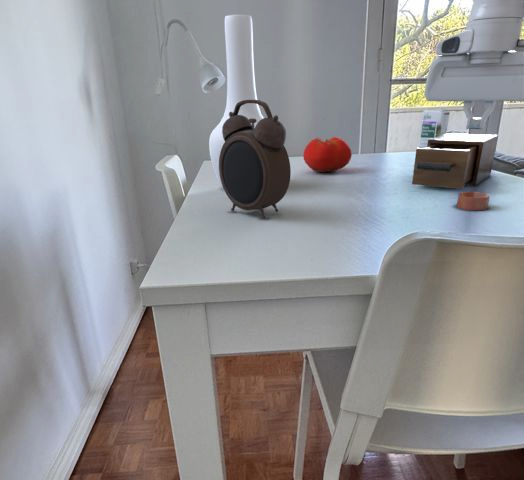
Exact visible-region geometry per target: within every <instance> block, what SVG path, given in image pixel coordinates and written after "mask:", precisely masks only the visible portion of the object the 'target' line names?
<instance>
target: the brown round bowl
mask: <svg viewBox="0 0 524 480" xmlns="http://www.w3.org/2000/svg"><path fill="white" fill-rule="evenodd" d="M490 196H491V195H490V194H488V193H486V192H480V191H463V192H460V193H458V197H457V202H456V203H457V204H456V208H458V209H459V210H465V211H474V212H475V211H478V212H479V211H485V210H487V209H488V206H489V201H490Z"/></svg>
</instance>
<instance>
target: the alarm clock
mask: <svg viewBox="0 0 524 480" xmlns="http://www.w3.org/2000/svg"><path fill="white" fill-rule="evenodd" d="M246 103H255V104H258V106H261V107H262V108H263V110H264V112H265V115H266V117H263V118H264V119H261V120H260V121H259V122H258V123H257V125H256V126H255V128H254V123H256V119H251V118H250V119H249V120H248V118H247V117H245V116H243V115H238V112H239V110H240V107H241V106H242V105H244V104H246ZM229 116H230V118H229V119H227V120H226V121H225V123H224V124H223V127H222V134H223V138H224V141H225V142H224V144H223V146H222V149H221V152H220V157H219V174H220V179H221V183H222V186H223V187H222V186H221V187H222V188H223V191H224V192H225V194H226V196H227V198H228V199H229V201H230V202H231V203H232V207H231V209H230V210H231V211H232V212H235V210H236V207H237V208H239V209H241V210H244V211H259V213H260V214H261V216H262V219H264V220H265V219H266V218H267V215H265V211H264V209H266V208H269V207H271V206H272V208H273V209H274V211H275V213H278V212H279V209H278V207H277V205H276V204H278V203H279V202H281V201H282V200H283V198H284V197H285V196H286V193H287V192H288V189H289V187H290V183H291V176H292V175H291V172H292V171H291V161H290V157H289V154H288V151H287V149H286V147H285V143H286V138H287V130H286V127H285V126H284V124H283V123H282V122H281V121H279V116H278V115H276V114H275V115H273V114H272V110H271V109H270V107H269V105H268V104H267V103H266V102H265V101H263V100H260V99H257V100H243V101H241V102H238V103H237V104H236V106H235V109H234V112H233V113H232V112H229ZM251 123H252V124H251Z"/></svg>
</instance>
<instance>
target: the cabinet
mask: <svg viewBox="0 0 524 480" xmlns="http://www.w3.org/2000/svg"><path fill="white" fill-rule="evenodd" d="M498 140H499V134H477V133H476V134H473V133H472V134H471V133H470V134H469V133H446V134H444V135H441V136H438V137H435V138H432V139H428V144H427V147H428V146H431V145H434V144H462V145H479V150H478V156H477V161H476V166H475V172H474V177H473V179H472V180H470V181H468V182H467V183H465V184H464V186H471V187H472V186H474V187H476V186H477V185H479V184H480V183H482V182H483V181H485V180H486V179H488V178H489V177H491V173H492V169H493V164H494V159H495V154H496V150H497V145H498Z"/></svg>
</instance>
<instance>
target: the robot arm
mask: <svg viewBox="0 0 524 480" xmlns="http://www.w3.org/2000/svg"><path fill="white" fill-rule="evenodd" d="M523 24H524V0H472V5H471V10H470V13H469V15H468V17H467V22H466V27H465V28H466V29H464V30H463V31H461V32H458V33H456V34H454V35H451V36H449V37H447V38H444V39H441V40H439V41H438V42H437V43H436V45H435V54H436V55H437V57H435V58H434V59H433V60H432V62H431V63H430V66H429V68H428V73H427V77H426V82H425V87H424V98H425V100H426V101H427V102H463V107H462V108H463V111H464V114H465V117H466V119H467V121H466V125H465V126H466V127H465V129H466V130H485V128H486V122H487V119H489V116H490V115H491V114H492V113H493V111H494V110H495V108H496V104H497V102H524V38H520V37H521V34H522V33H521V32H522V27H523ZM476 102H484V107H483V108H484V109H485V111H484V113H483V114H482V115H481V117H475V116H474V114H473V111H472V109H473V108H475V104H476Z"/></svg>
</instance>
